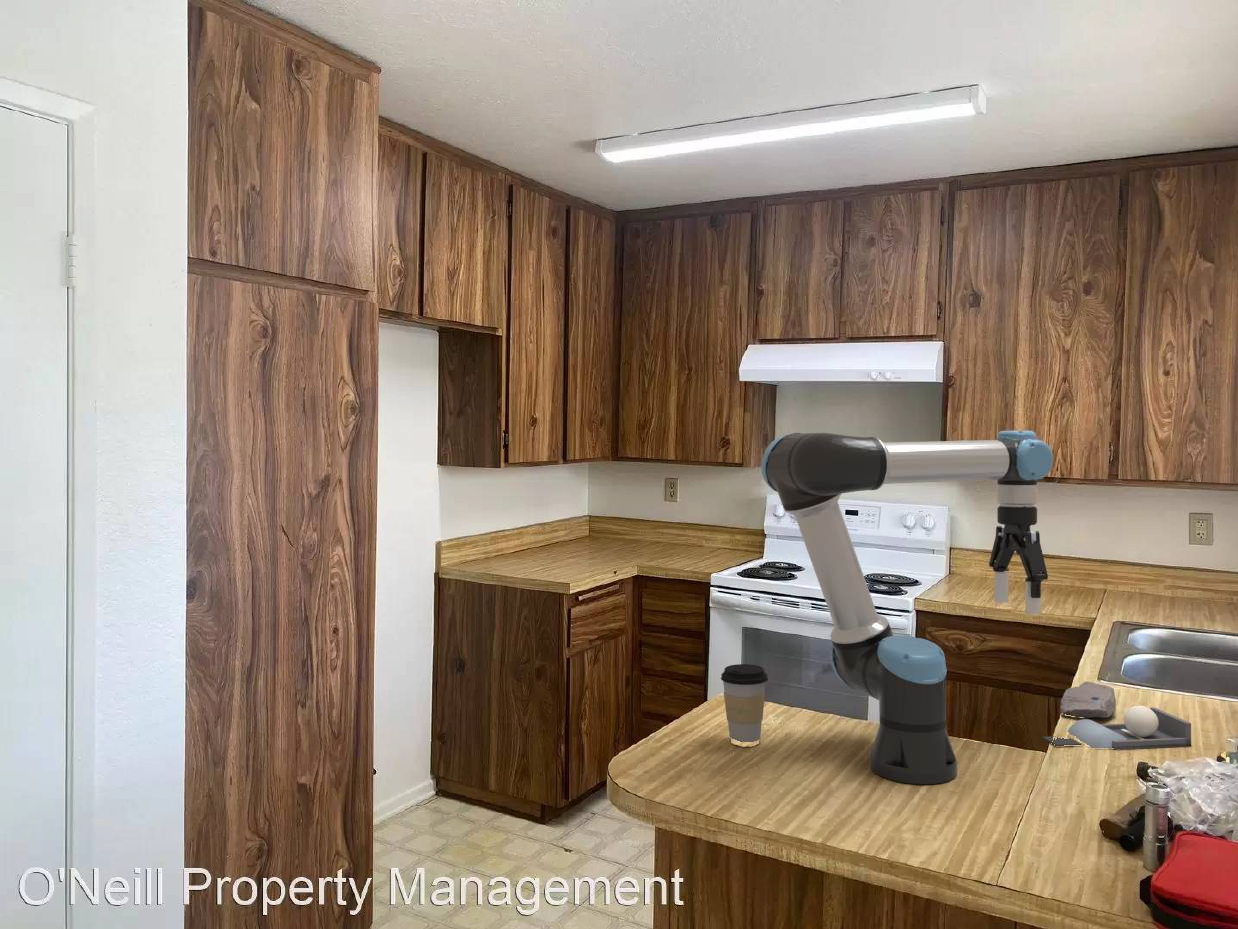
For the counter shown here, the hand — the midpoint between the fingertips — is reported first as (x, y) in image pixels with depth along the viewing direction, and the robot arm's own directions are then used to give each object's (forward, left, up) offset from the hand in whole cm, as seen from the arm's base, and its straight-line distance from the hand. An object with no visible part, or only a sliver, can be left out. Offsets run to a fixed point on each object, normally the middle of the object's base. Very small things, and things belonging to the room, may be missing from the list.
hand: (1016, 608), depth 188 cm
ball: (+20, -9, -22) cm, 31 cm away
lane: (+19, -9, -25) cm, 33 cm away
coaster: (+4, -9, -25) cm, 27 cm away
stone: (+20, +7, -26) cm, 33 cm away
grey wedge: (+11, -9, -30) cm, 34 cm away
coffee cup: (-58, -1, -25) cm, 63 cm away
